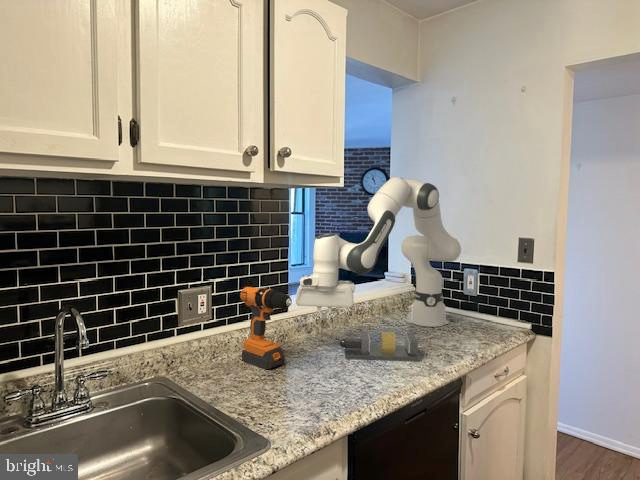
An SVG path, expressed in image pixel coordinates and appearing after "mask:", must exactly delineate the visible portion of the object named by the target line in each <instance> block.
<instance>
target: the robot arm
mask: <svg viewBox="0 0 640 480" xmlns="http://www.w3.org/2000/svg"><path fill="white" fill-rule="evenodd" d="M439 197H440V193H439V190H438V188H437V186H435V185H434V184H432V183H431V182H430V183H429V182H424V181H422V180H419V179H412V178H403V177H398V176H395V177H391V178H390V179H388V180H387V181H386V182H384V184H383V185H381V187H380V188H378V190H377V191H376V193H374V195H373V196H372V198H371V199H370V201H369V202H368V205H367V215H368V217H369V218H370V219H371V220H372V222H373V223H374V225H373V227H372V229H371V231H369V233H368V236H367V237H366V239H365V240H364V241H362V242H360V243H353V242H349V241H347V240H345V239H343V238H341V237H340V236H339V235H338V234H337V233H335V232H325V233H322V234H318V235H317V236H316V237H315V240H314V243H313V251H312V252H313V253H312V254H313V255H312V261H313V262H314V263H313V264H314V265H313V268H312V274H307V275H305V276H302V277H301V278H300V279H299V286H297V287H298V288H297V291H296V294H295V295H296V296H295V304H296V305H297V306H298V307H316V311H317V312H318V314H319V319H320V320H329V316H330V313H331V312H332V310H333V309H332V308H346V309H347V308H349V309H350V308H353V307H354V293H355V291H356V285H355V283H354V282H353V281H351V280H342V279H339V269H343V270H346V271H351V272H353V273H356V274H358V275H366V274H369V273H370V272H371V271H372V270H373V269H374V267H375V265H376V263H377V261H378V256H379V254H380V251H381V250H382V248H383V246H384V245H385V243H386V242H387V240H388V238H389V236H390V234H391V233H392V230H393V228H394V227H395V223H396V218H397V215H398V213H399V212H400V211H401V210H402V208H403V207H405V208H411V209H412V215H413V221H414V228H415V230H416V231H417V232H419V235H418V234H416V235H409V236H406V237H405V238H404V239H403V240H402V242H401V247H400V248H401V249H400V250H401V253H402V255H403V256H404V257H405V258H406V259H407V260H408V261H409V262H410V263H411V265H412V267H413V269H414V272H415V283H416V284H415V286H416V287H415V291H414V301H412V304H410V305H408V311H410V312H408V313H407V316H406V323H408V324H413V325H417V326H421V327H427V328H428V327H435V328H436V327H443V326H445V325H449V324H450V321H449V320H448V319H446V315H447V314H446V305H445V303H444V302H443V296H444V295H443V291H442V290H443V288H442V286H443V276H442V273H441V272H440V271H438V270H437V269H435V268H434V267H433V266H432V265H431V263H430V262H431V261H432V262H440V263H441V262H443V263H446V262H454V261H456V260H458V258H459V257H460V255H461V252H462V247H461V243H460V242H459V241H458V239H457V238H455V237H453V236H452V235H451V234H450V233H449V232H447V230H446V229H445V227H444V224H443V221H442V215H441V214H442V213H441V206H440V205H441V204H440V199H439ZM420 234H421V235H420ZM322 307H324V308H325V307H326V308H327V310H328V311H327V312H326V313H325V312H322Z"/></svg>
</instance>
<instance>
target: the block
mask: <svg viewBox="0 0 640 480" xmlns="http://www.w3.org/2000/svg"><path fill="white" fill-rule="evenodd" d="M380 333H381V334H380V335H381V336H380V345H381V350H382V352H389V353H395V345H396V341H397V340H396V339H397V338H396V337H397V336H396V333H395V331H381V332H380Z"/></svg>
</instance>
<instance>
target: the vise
mask: <svg viewBox="0 0 640 480" xmlns="http://www.w3.org/2000/svg"><path fill="white" fill-rule="evenodd" d="M404 340H405V341H404V345H400V344H399V345H397V344H395V353H389V352H382V350H381V344H376V343H375V344H373V343H370V352H369V354H361V349H356V348H344V359H345V360H361V361H362V360H363V361H364V360H367V361H392V362H393V361H394V362H395V361H396V362H420V359H421V357H420V355H419V353H418V351H419V350H418V349H419V348H418V346H419V345H418V344H419V341H418V339H417V336H416V335H415V333H409V332H408V333H406V334H405V338H404Z"/></svg>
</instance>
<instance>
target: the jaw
mask: <svg viewBox="0 0 640 480" xmlns="http://www.w3.org/2000/svg"><path fill="white" fill-rule="evenodd" d="M370 344H371V336H370V333H369V332H368V331H360V337H359V338H342V339H340V340H339V346H340V347H341V348H344V349H345V348H356V349H361V354H369V352H370Z"/></svg>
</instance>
